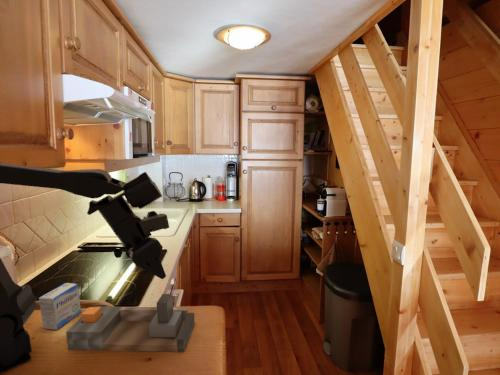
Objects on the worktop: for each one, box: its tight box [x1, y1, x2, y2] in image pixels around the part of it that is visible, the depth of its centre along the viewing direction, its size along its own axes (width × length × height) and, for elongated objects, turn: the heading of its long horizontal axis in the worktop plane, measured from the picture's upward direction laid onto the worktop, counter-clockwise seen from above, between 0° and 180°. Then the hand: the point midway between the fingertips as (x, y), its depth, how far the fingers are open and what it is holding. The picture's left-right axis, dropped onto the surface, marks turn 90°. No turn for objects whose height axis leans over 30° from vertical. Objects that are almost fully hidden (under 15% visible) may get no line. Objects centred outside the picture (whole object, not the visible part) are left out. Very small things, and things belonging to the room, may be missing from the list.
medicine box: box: [38, 282, 82, 331], centre depth 74 cm, size 8×4×9 cm, turn 168°
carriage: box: [149, 293, 182, 337], centre depth 67 cm, size 6×6×8 cm
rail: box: [65, 305, 196, 353], centre depth 68 cm, size 26×10×4 cm, turn 88°
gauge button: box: [81, 306, 102, 323], centre depth 68 cm, size 3×3×4 cm
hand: (159, 272), depth 68 cm, fingers open, 9 cm apart
